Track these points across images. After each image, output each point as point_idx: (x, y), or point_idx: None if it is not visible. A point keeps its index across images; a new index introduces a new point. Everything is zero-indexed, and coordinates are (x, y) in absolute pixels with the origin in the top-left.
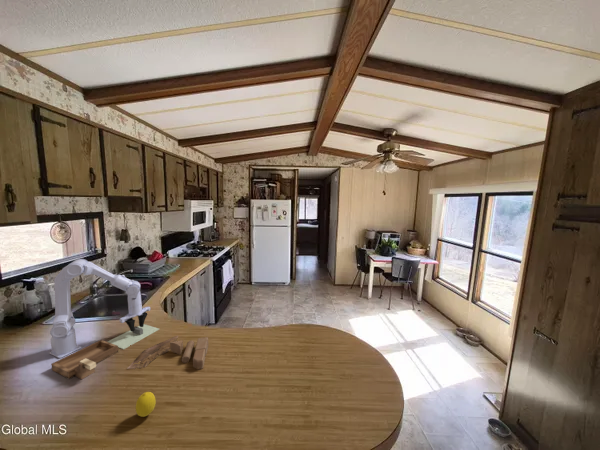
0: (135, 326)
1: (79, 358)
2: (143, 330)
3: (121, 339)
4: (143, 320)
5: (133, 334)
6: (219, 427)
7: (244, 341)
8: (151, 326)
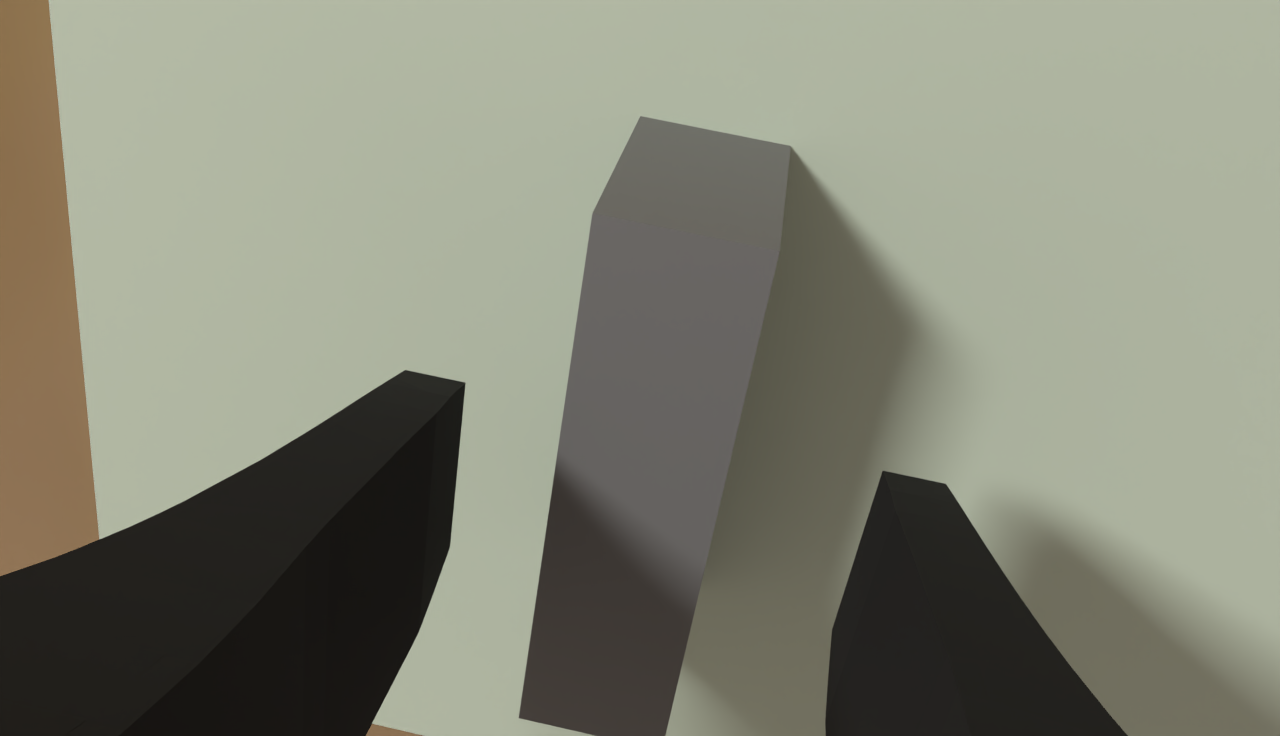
0: (528, 704)
1: None
2: (436, 305)
3: (1191, 633)
4: (231, 556)
5: (793, 470)
6: None
7: None
8: (76, 216)
